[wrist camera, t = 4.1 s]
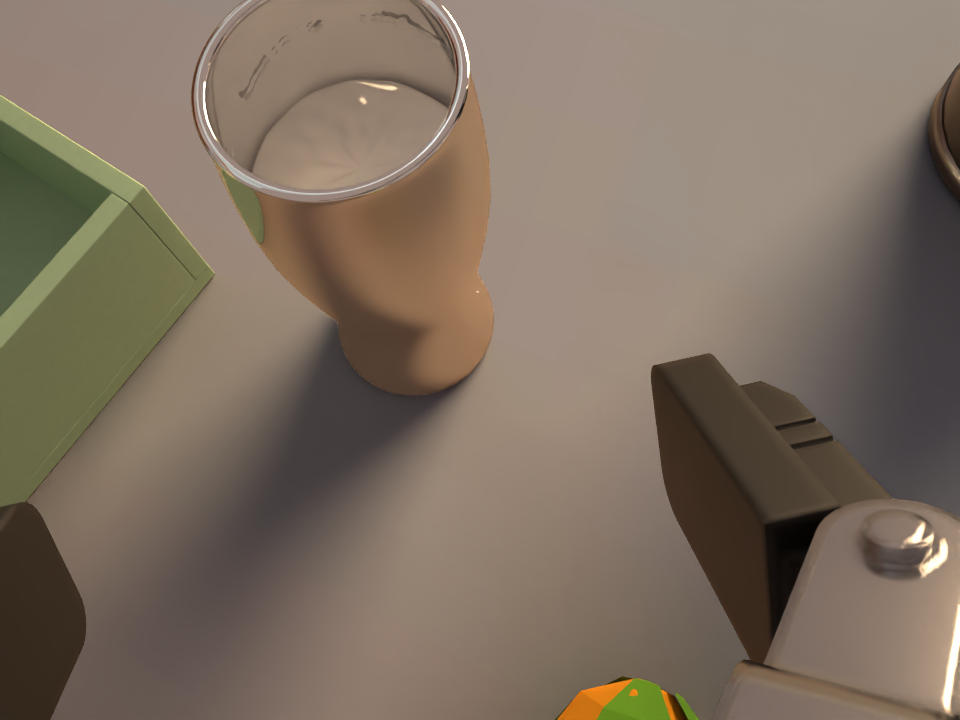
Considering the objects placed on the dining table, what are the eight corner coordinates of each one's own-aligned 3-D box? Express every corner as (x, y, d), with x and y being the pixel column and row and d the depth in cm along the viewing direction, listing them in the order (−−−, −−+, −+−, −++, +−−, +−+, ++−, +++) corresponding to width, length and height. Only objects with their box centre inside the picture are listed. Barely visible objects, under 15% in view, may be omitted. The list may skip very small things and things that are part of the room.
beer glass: (403, 445, 33) (298, 269, 19) (293, 317, 35) (124, 72, 21) (542, 328, 34) (542, 80, 20) (428, 211, 36) (354, -88, 22)
